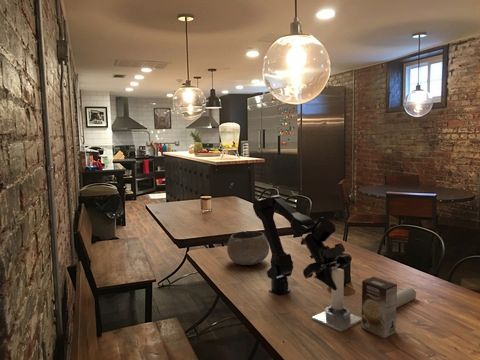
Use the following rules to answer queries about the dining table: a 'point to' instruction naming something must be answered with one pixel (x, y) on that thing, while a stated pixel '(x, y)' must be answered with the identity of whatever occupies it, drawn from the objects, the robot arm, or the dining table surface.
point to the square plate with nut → (337, 318)
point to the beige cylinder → (339, 293)
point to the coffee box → (379, 306)
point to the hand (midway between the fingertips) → (340, 288)
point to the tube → (405, 296)
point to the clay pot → (248, 247)
